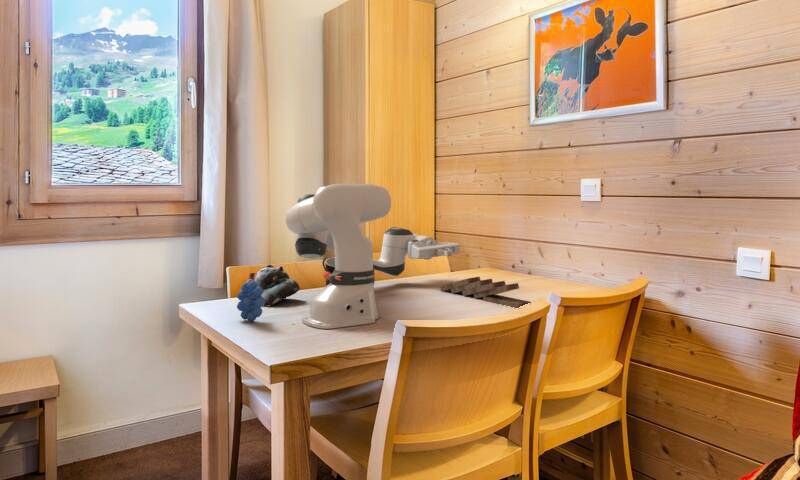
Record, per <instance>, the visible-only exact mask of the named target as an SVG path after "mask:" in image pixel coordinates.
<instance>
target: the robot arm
mask: <svg viewBox="0 0 800 480" xmlns="http://www.w3.org/2000/svg"><path fill="white" fill-rule="evenodd" d="M391 207H392V197H391V194H390V192H389V191H388V190H387V188H385V187H383V186H380V185H377V184H373V183H333V184H328V185H325V186H322V187H319V188H318V189H317V190H316V192H315V193H308V194H304V195H302V196H300V197H299V198H298V200H297V203H296V204H294V205H293V206H292V207H291V208H289V209H288V210H287V211H286V214H285V224H286V227H287V229H288V230H289V231H290V232H292V233H293V234H294V237H295V238H294V240H295V244H294V246H295V251H296V254H297V255H298V256H299V257H300V258H304V259H308V260H315V259H318V258H319V259H320V258H322V257H324V256H325V254H326V252H327V251H334V258H335V269H334V271H333V273H332V274H331V273H330V272H326V271H324V272H323V274H322V277H323V278H324V279H325V280H326V279H330V278H331V279H330V284H328V285H327V286H326V285H325V287H324V288H323V289H321V291H320V292H318V293H317V294H316V295H315V296H314V297H313V298H312V300H311V303H310V306H309V307H310V308H309V313H308V315H307V314H306V315H304V316H303V315H302V317H301V322H302V323H303V324H305V325H307V326H309V327H313V328H317V329H325V330H327V329H337V328H338V329H339V328H342V327H343V328H346V327H353V326H359V325H360V326H361V325H368V324H370V325H371V324H374V323H376V320H377V319H379V317H380V315H379V311H378V308H377V303H376V295H375V290H374V289H375V288H374V287H375V283H376V282H375V280H376V279H375V271H378V272H380V273H382V274H384V275H386V276H389V277H398V276H399V275H401V274H402V273H403V272H404V271H405V268H406V266H405V265H406V255H407V257H408V259H412V260H431V259H433V258H437V257H450V256H453V255H456V254H458V255H459V254H460V253H461V245H460V243H456V242H447V241H443V242H437V241H436V239H435V238H434V237H431V236H427V235H424V234H418V233H415V232H414V233H413V232H412V231H411V230H410V229H406V228H402V227H396V226H394V227H390V228H388V229H386V231H385V232H383V238H382V245H381V252H380V255H379V259H375V258H374V245H373V241H372V240H371V239H370V238H369V237H367V236H366V235H364V233H363V232H362V229H361V226H360V224H363V223H368V222H372V221H376V220H379V219H382V218H384V217H387V215H388V214H389V212H390V211H391Z"/></svg>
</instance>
